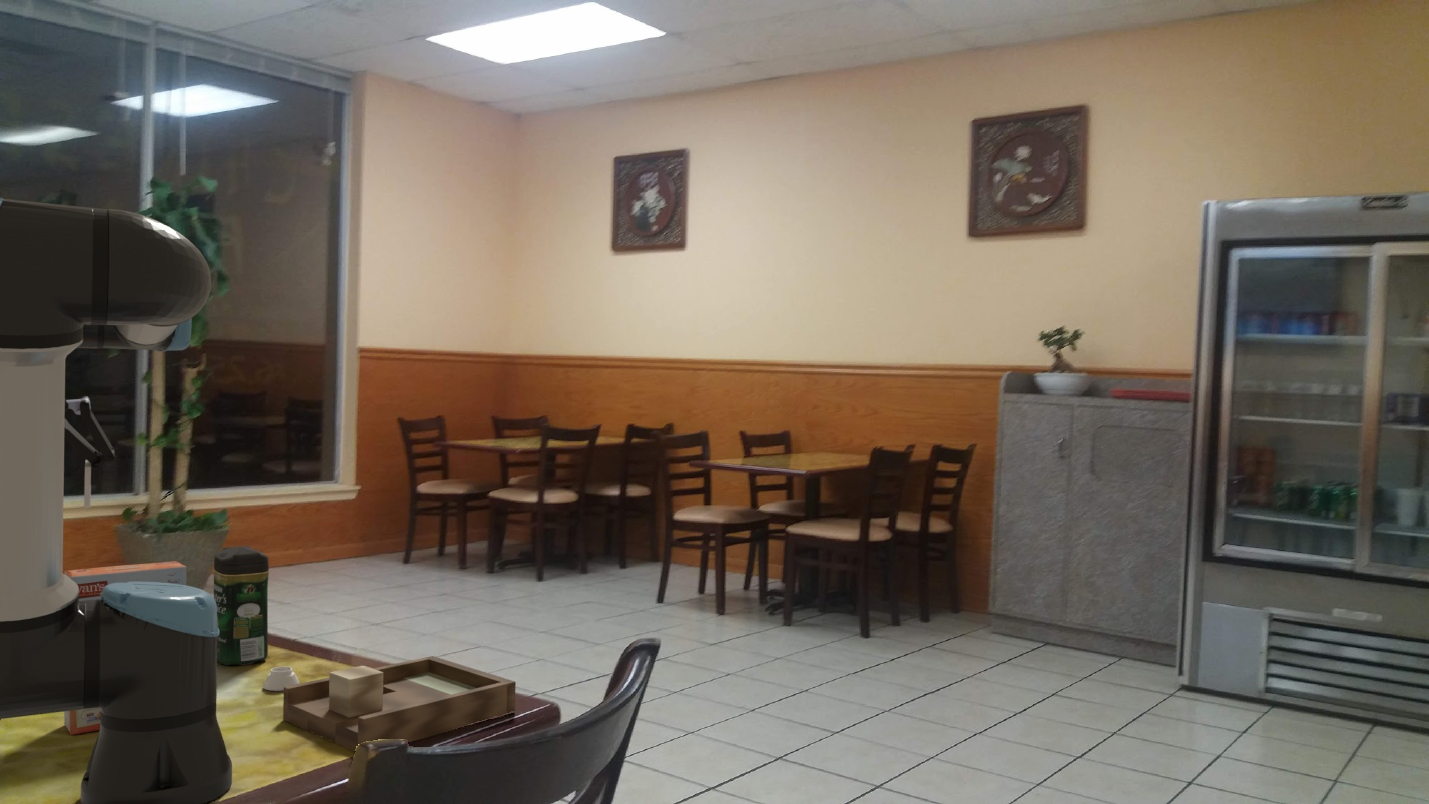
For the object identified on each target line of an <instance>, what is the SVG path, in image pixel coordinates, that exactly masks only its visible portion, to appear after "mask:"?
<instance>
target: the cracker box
mask: <svg viewBox="0 0 1429 804" xmlns="http://www.w3.org/2000/svg"><path fill="white" fill-rule="evenodd" d="M187 569H188V567H187V566H186V565H184V564H182V563H181V562H178V561H177V560H175V561H174V560H173V561H167V562H166V561H165V562H163V561H162V562H152V563H151V562H150V563H139V564H137V563H136V564H126V565H124V564H123V565H115V566H114V565H113V566H100V567H91V568H81V569H71V570H69V569H68V570H65V571H63V572H64V573H63V574H64V575H66V576H67V577H68V578H70V579H71V580H73V581H74V582H75V583H76V584H77V585H78V588H79V601H80V600H96V599H101V598H100V593H101V592H102V590H103V588H104V587H105V586H107V585H109V584H112V583H126V582H161V583H172V584H180V585H186V586H187ZM84 602H85V601H84ZM100 713H101V711H100V707H97V708H88V709H84V707H83V709H81V710H73V711H64V712H63V717H64V720H63V721H64V722H63V723H64V726H65V727H66V730H67V731H68V733H69V734H70V735H71V736H72V735H73V736H74V735H78V734H85V733H91V732H96V731H97V732H98V731H100Z"/></svg>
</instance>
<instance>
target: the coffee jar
mask: <svg viewBox="0 0 1429 804" xmlns="http://www.w3.org/2000/svg"><path fill="white" fill-rule="evenodd" d="M213 558H214V560H213V598H214V599H215V601H216V605H217V622H218V629H219V631H220V633H219V636H217V662H219V663H220V664H222V665H225V666H228V665H234V666H235V665H236V666H248V665H253V664H255V663H257V662H260V661H265V660H266V659H267V657H268V655H269V653H268V652H269V645H268V644H269V636H268V635H269V634H268V633H269V631H268V629H269V628H268V627H269V626H268V624H269V621H268V619H269V618H268V611H269V610H268V606H269V605H268V604H269V603H268V601H269V599H268V598H269V593H268V590H269V589H268V587H269V575H270V572H269V571H270V565H269V564H270V563H269V556H268V555H267V554H265V553H264V552H262V551H259V550H256V549H255V548H252V547H250V546H249V545H242V546H241V545H239V546H238V545H237V546H227V547H223V548H222V549H221V550H219V551H218V552H216V554H215V555H214V557H213Z"/></svg>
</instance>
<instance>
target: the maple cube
mask: <svg viewBox="0 0 1429 804" xmlns="http://www.w3.org/2000/svg"><path fill="white" fill-rule="evenodd" d="M329 677H330V682H329V710H332V711H334V712H337V713H339V714H342V715H344V716H346V717H353V716H358V715H362V714H366V713H370V712H374V711H378V710H382V709H383V672H381V671H378V670H375V669H373V667H369V666H365V665H360V666H353V667H349V668H343V669H339V670H334V671H331V672H329Z"/></svg>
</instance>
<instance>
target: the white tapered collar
mask: <svg viewBox="0 0 1429 804" xmlns="http://www.w3.org/2000/svg"><path fill="white" fill-rule="evenodd" d="M269 672H270V673H269V674H267V676H266V678H265V680H264V683H263V685H262V688H263V689H264V690H266V691H269V692H284V687H286V686H291V685H296V684H300V680H299V678H298V677H297V674H296V672H294V671H293V668H292V666H276V667H273V668H271V669H270V671H269Z"/></svg>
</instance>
